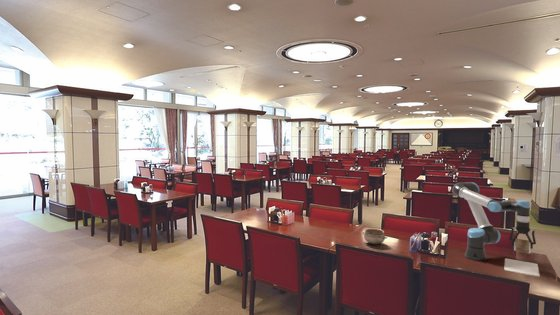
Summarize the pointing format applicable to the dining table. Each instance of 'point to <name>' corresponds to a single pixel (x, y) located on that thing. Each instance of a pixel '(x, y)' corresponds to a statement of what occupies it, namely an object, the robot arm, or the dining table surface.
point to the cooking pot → (374, 236)
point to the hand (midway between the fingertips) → (522, 251)
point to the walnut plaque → (522, 246)
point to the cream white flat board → (521, 267)
